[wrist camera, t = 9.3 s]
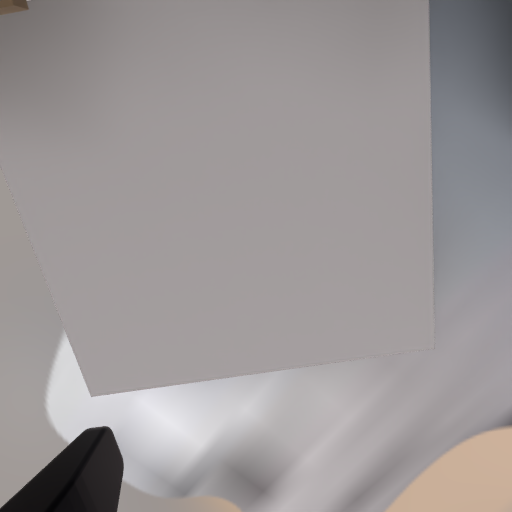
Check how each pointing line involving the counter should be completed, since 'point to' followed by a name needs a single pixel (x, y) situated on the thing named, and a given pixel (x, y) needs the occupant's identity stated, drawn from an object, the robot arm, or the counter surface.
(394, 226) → the mat
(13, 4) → the lid
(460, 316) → the counter surface
